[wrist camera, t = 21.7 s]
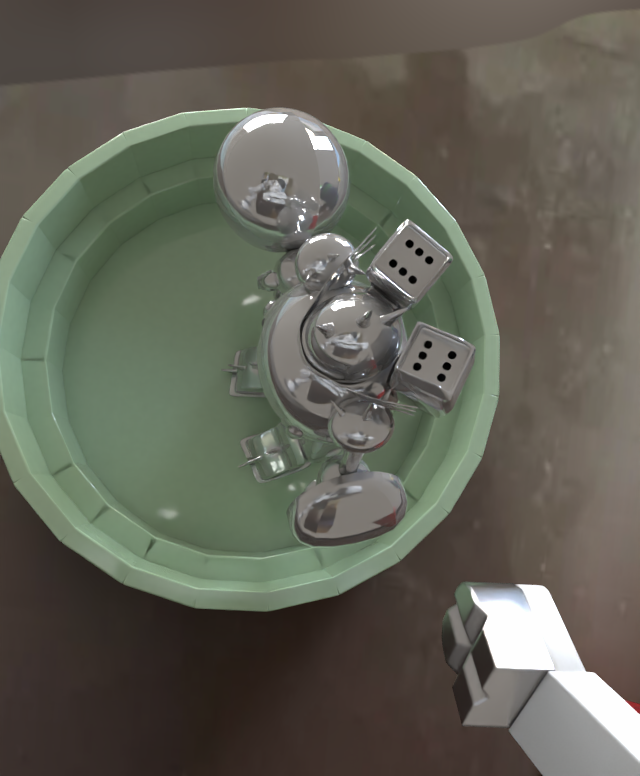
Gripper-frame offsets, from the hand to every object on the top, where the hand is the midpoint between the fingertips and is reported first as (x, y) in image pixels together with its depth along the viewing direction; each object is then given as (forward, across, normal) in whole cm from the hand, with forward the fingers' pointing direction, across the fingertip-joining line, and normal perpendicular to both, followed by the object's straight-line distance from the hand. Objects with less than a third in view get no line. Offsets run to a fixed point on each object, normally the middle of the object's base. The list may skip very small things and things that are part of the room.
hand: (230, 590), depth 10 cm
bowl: (+18, 0, +7) cm, 19 cm away
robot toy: (+17, -2, +7) cm, 18 cm away
